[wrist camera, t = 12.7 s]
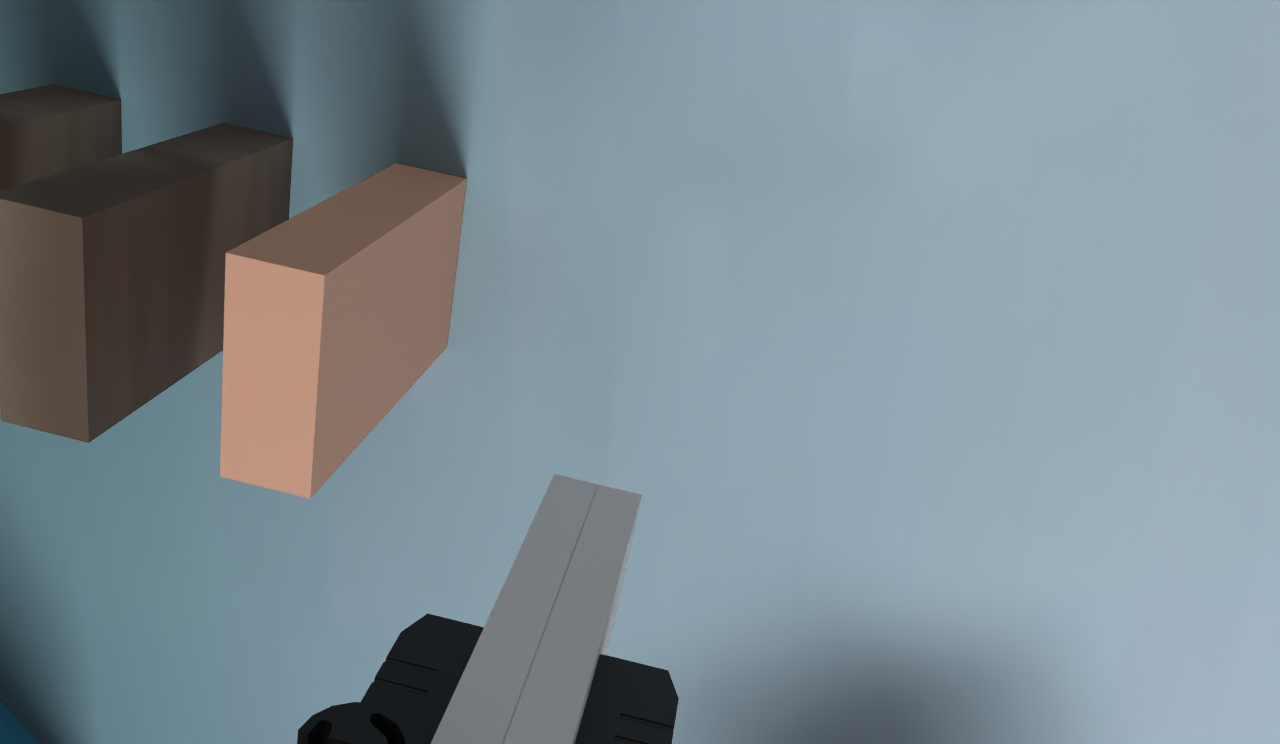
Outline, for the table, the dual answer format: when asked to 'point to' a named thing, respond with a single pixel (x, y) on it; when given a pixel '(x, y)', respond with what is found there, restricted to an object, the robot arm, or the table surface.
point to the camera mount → (13, 729)
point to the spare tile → (334, 324)
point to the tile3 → (55, 132)
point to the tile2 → (126, 273)
